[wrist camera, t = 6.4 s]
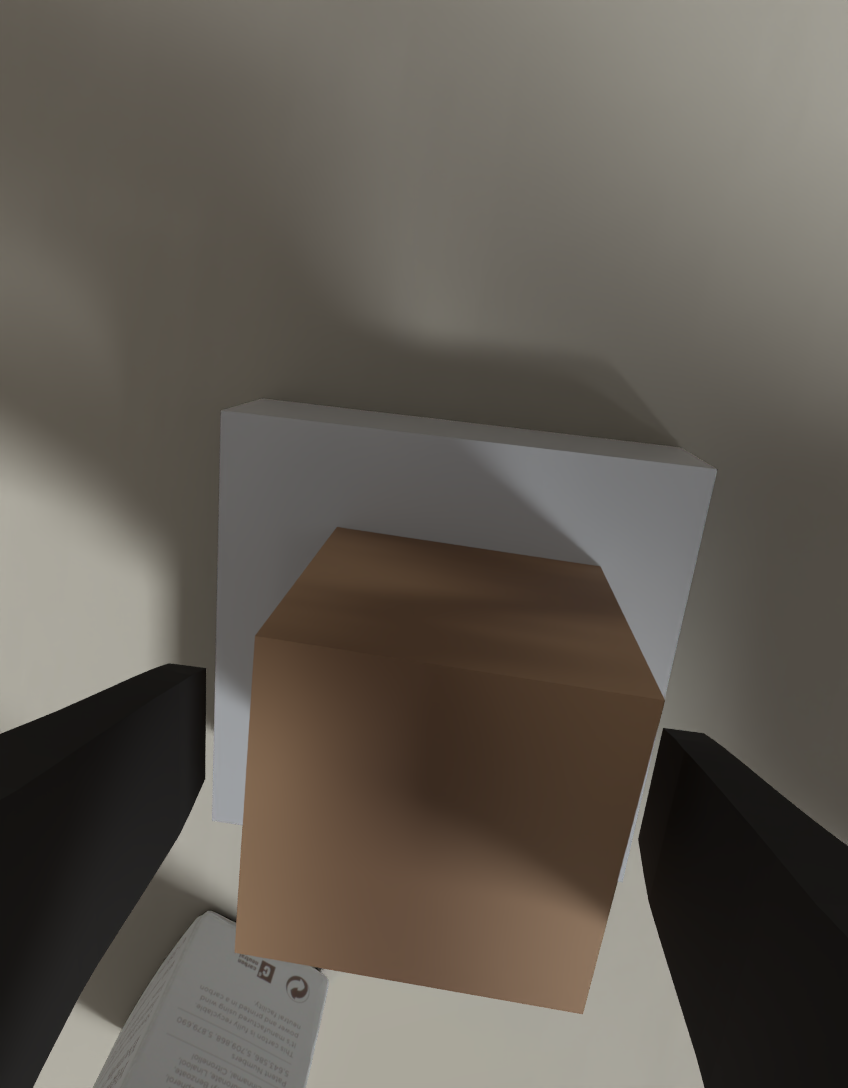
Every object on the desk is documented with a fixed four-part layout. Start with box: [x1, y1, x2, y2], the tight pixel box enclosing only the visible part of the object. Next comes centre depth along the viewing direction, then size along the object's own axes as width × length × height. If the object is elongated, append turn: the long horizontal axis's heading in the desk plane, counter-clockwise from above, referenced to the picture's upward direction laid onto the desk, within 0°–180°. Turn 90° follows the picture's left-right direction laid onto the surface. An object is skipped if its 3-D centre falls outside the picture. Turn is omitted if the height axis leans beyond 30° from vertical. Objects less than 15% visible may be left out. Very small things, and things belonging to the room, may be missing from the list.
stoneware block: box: [212, 398, 718, 882], centre depth 16 cm, size 9×9×3 cm
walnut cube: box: [234, 527, 665, 1014], centre depth 12 cm, size 5×5×5 cm
